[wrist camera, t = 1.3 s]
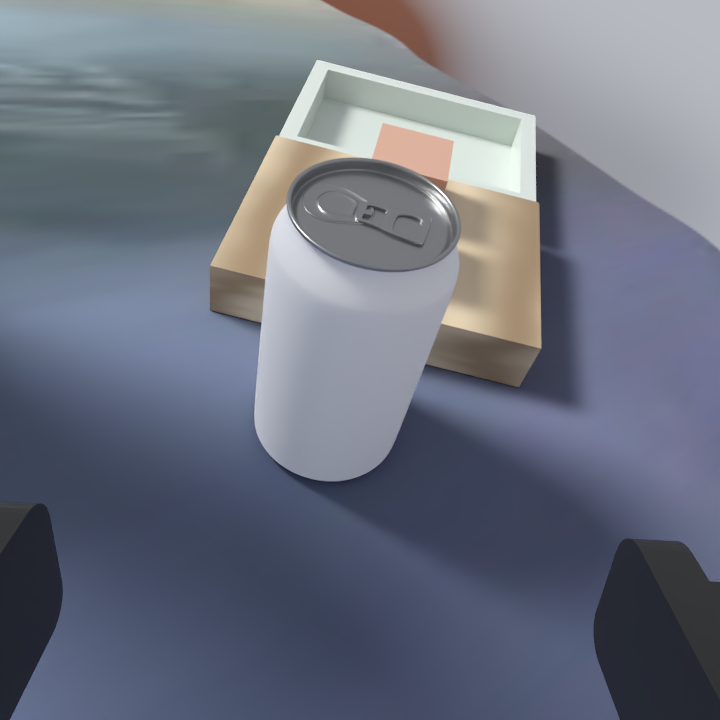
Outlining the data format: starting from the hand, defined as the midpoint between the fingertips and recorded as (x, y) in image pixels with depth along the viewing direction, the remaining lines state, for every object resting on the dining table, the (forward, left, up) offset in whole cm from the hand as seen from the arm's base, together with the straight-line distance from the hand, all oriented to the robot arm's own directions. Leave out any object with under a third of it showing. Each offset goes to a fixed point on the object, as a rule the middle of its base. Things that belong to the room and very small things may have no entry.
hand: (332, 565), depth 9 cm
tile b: (0, +27, -12) cm, 30 cm away
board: (0, +24, -15) cm, 29 cm away
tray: (0, +36, -15) cm, 39 cm away
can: (-1, +13, -16) cm, 21 cm away
